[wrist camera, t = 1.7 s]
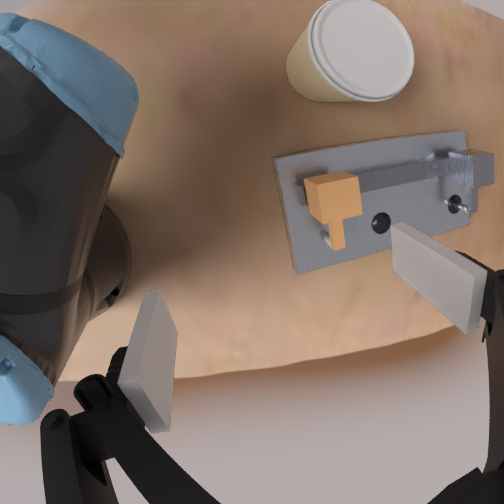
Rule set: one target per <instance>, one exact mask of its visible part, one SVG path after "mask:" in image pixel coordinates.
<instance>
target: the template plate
mask: <svg viewBox="0 0 504 504" xmlns="http://www.w3.org/2000/svg"><path fill="white" fill-rule="evenodd" d="M272 161H273V166H274V171H275V176H276V181H277V185H278V190H279V195H280V200H281V205H282V210H283V216H284V221H285V226H286V231H287V236H288V242H289V247H290V252H291V258H292V263H293V268H294V269H295V271H296V273H297V274H301V273H305V272H308V271H312V270H316V269H319V268H323V267H327V266H330V265H334V264H338V263H341V262H345V261H348V260H352V259H356V258H359V257H363V256H366V255H370V254H373V253H377V252H380V251H384V250H387V249H390V248H392V241H391V226H390V225H394V224H398V223H401V222H403V223H405V224H406V225H408V226H410V227H412V228H414V229H416V230H418V231H419V232H421V233H423V234H425V235H427V236H429V237H431V236H434V235H437V234H441V233H444V232H447V231H450V230H453V229H457V228H460V227H463V226H466V225H469V214H470V213H472V212H476V211H477V187H481V186H485V185H490V184H494V160H493V153H488V152H482V151H476V150H470V149H468V150H467V145H466V135H465V131H458V130H453V131H442V132H432V133H423V134H414V135H405V136H397V137H390V138H383V139H375V140H369V141H362V142H356V143H349V144H343V145H337V146H331V147H326V148H320V149H315V150H309V151H304V152H299V153H294V154H289V155H284V156H279V157H274V158H272ZM338 171H343V172H346V173H349V174H352V175H355V176H358V180H359V188H360V196H361V204H362V213H363V214H362V215H358V216H354V217H350V218H346V219H342V222H343V230H344V238H345V247H346V248H344V249H340V250H337V251H334V250H333V249H332V248H331V247H330V246H329V245H328V244H327V243H326V242H325V241H324V236H325V235H326V234H329V227H328V223H325V224H322V223H321V222H320V221H318V220H317V219H316V218H315V217H313V216H312V215H311V214H310V212H309V206H308V200H307V195H306V189H305V183H304V178H309V177H314V176H319V175H323V174H328V173H333V172H338Z"/></svg>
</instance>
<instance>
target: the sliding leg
mask: <svg viewBox="0 0 504 504" xmlns="http://www.w3.org/2000/svg"><path fill="white" fill-rule="evenodd" d="M304 183H305V189H306V195H307V200H308V206H309V212H310V214H311V215H312V216H313V217H315V218H316V219H317V220H318V221H320V222H321V223H322V224H325V223H328V227H329V234H326V235H325V236H324V241H325V242H326V243H327V244H328V245H329V246H330V247H331V248H332V249H333V250H334V251H337V250H340V249H344V248H346V247H345V238H344V230H343V222H342V219H346V218H350V217H354V216H358V215H362V214H363V213H362V204H361V196H360V188H359V180H358V176H355V175H352V174H349V173H346V172H343V171H338V172H333V173H328V174H323V175H319V176H314V177H309V178H304Z"/></svg>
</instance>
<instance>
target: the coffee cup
mask: <svg viewBox="0 0 504 504" xmlns="http://www.w3.org/2000/svg"><path fill="white" fill-rule="evenodd" d="M414 61H415V58H414V49H413V45H412V41H411V39H410V36H409V34H408V32H407V30H406V29H405V27H404V26H403V24H402V23H401V22H400V20H399V19H398V18H397V17H396V16H395V15H394V14H393V13H392V12H391V11H389V10H388V9H387V8H385V7H384V6H382V5H380V4H379V3H376V2H374V1H372V0H330V1H328V2H326V3H325V4H323V5H322V6H321V7H320V8H319V9H318V10H317V11H316V12H315V13H314V15H313V17H312V18H311V20H310V22H309V24H308V25H307V27H306V28H305V29H304V31H303V32H302V33H301V35H300V36H299V38H298V39H297V41H296V42H295V44H294V45H293V47H292V48H291V50H290V52H289V54H288V56H287V59H286V73H287V76H288V79H289V81H290V83H291V85H292V86H293V87H294V89H295V90H296V91H297V92H298V93H300V94H301V95H302V96H304V97H305V98H307V99H310V100H312V101H316V102H348V101H365V102H379V101H384V100H387V99H390V98H392V97H394V96H395V95H397V94H398V93H399V92H400V91H402V90H403V88H404V87H405V86H406V84H407V83H408V81H409V79H410V77H411V75H412V72H413V69H414Z"/></svg>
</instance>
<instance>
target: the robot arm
mask: <svg viewBox="0 0 504 504" xmlns="http://www.w3.org/2000/svg"><path fill="white" fill-rule="evenodd" d="M138 103H139V92H138V88H137V86H136V83H135V81H134V80H133V78H132V77H131V76H130V74H129V73H128V72H127V71H126V70H125V69H124V68H123V67H122V66H121V65H119V64H118V63H117V62H116V61H115V60H113V59H112V58H110V57H109V56H108V55H106V54H105V53H103V52H102V51H100V50H99V49H97V48H95V47H94V46H92V45H90V44H89V43H87V42H85V41H83V40H82V39H80V38H78V37H76V36H74V35H72V34H70V33H68V32H66V31H64V30H62V29H59V28H57V27H55V26H52V25H50V24H47V23H45V22H42V21H39V20H34V19H32V20H30V19H28V18H25V17H22V16H19V15H17V14H13V13H0V423H3V424H8V425H18V426H22V425H27V424H30V423H33V422H34V421H35V420H37V419H38V418H39V417H40V415H41V414H42V412H43V410H44V408H45V406H46V405H47V403H48V401H51V400H52V398H53V396H54V388H55V386H56V384H57V382H58V380H59V378H60V376H61V374H62V372H63V369H64V367H65V365H66V363H67V361H68V359H69V357H70V355H71V353H72V351H73V349H74V347H75V345H76V343H77V342H78V340H79V338H80V336H81V334H82V332H83V330H84V328H85V326H86V324H87V322H88V321H90V320H92V319H93V318H95V317H97V316H98V315H100V314H102V313H104V312H105V311H107V310H108V309H109V308H110V307H111V306H112V305H113V304H114V303H115V302H116V301H117V300H118V298H119V297H120V295H121V293H122V291H123V289H124V287H125V285H126V283H127V280H128V278H129V274H130V269H131V251H130V246H129V242H128V238H127V236H126V233H125V231H124V229H123V227H122V225H121V223H120V222H119V220H118V219H117V217H116V216H115V215H114V214H113V212H112V211H111V210H110V209H109V208H108V207H107V206H105V205H104V202H105V199H106V196H107V193H108V190H109V187H110V184H111V181H112V178H113V175H114V172H115V170H116V167H117V164H118V162H119V159H120V158H123V156H124V153H125V149H124V147H123V146H124V143H125V140H126V137H127V134H128V132H129V129H130V126H131V123H132V121H133V118H134V115H135V112H136V110H137V107H138ZM390 226H391V241H392V259H393V272H394V273H395V274H397V275H398V276H399V277H400V278H401V279H403V280H404V281H405V282H406V283H407V284H409V285H410V286H411V287H412V288H413V289H415V290H416V291H417V292H418V293H419V294H420V295H422V296H423V297H424V298H425V299H426V300H427V301H429V302H430V303H431V304H432V305H433V306H434V307H436V308H437V309H438V310H439V311H440V312H441V313H442V314H443V315H445V316H446V317H447V318H448V319H449V320H450V321H451V322H452V323H454V324H455V325H456V326H457V327H458V328H459V329H460V330H461V331H462V332H464V333H465V334H468V333H470V332H472V331H474V330H476V329H478V327H479V322H480V317H483V318H484V319H485V320H486V323H485V328H484V332H483V337H482V342H484V339H485V338H486V345H487V356H488V370H489V390H490V391H489V392H490V424H489V447H488V458H487V462H486V465H485V468H484V471H483V473H481V471H480V470H479V468H478V467H477V468H475V469H474V470H472V471H471V472H469V473H468V474H466V475H464V476H463V477H461V478H460V479H458V480H456V481H455V482H453V483H451V484H450V485H448V486H447V487H446V488H445V489H444V490H443V491H441V492H440V493H439V494H438V495H437V496H436V497H435V498H433V499H432V500H431V501H430V502H429V503H428V504H504V269H502V270H498V271H496V272H495V271H494V270H492V269H490V268H489V267H487V266H485V265H484V264H482V263H480V262H478V261H477V260H475V259H474V258H473V259H472V257H470V256H469V255H467V254H465V253H462V252H458V251H453V250H452V249H450V248H448V247H446V246H445V245H443V244H441V243H439V242H438V241H436V240H434V239H432V238H430V237H429V236H427V235H425V234H423V233H421V232H419V231H418V230H416V229H414V228H412V227H410V226H408V225H406V224H405V223H403V222H401V223H398V224H394V225H390ZM177 336H178V332H177V330H176V327H175V325H174V323H173V320H172V318H171V315H170V313H169V310H168V308H167V306H166V303H165V301H164V298H163V295H162V293H161V290H160V288H158V289H154V290H150V291H146V292H145V295H144V298H143V301H142V304H141V307H140V310H139V313H138V316H137V319H136V322H135V325H134V329H133V332H132V335H131V338H130V342H129V345H128V346H126V347H121V348H119V349H118V350H117V351H116V352H115V354H114V355H113V356H112V359H111V362H110V366H109V368H108V372H107V374H106V377H104V376H103V375H101V374H93V375H89V376H87V377H85V378H83V379H82V380H81V381H80V382H78V384H77V385H76V386H75V389H74V396H75V398H76V399H77V401H78V402H79V403H80V405H81V406H82V407H83V409H84V410H85V411H84V412H81V413H78V414H76V415H73V416H70V415H69V414H68V413H67V412H66V411H65V410H64V409H56V410H53V411H51V412H49V413H48V414H47V415H46V416H45V417H44V418H43V420H42V422H41V426H40V433H41V435H40V436H41V457H42V470H43V481H44V490H45V497H46V504H119V503H118V500H117V497H116V494H115V491H114V488H113V485H112V481H111V478H110V475H109V472H108V469H107V465H106V461H105V460H108V459H110V458H114V457H115V459H116V460H117V462H118V463H119V464H120V466H121V467H122V469H123V470H124V471H125V473H126V474H127V476H128V477H129V478H130V480H131V481H132V482H133V484H134V485H135V486H136V487H137V489H138V490H139V491H140V493H141V494H142V495H143V496H144V498H145V499H146V500H147V501H148V502H149V504H221V503H219V502H218V501H217V500H216V499H215V498H214V497H212V496H211V495H210V494H209V493H208V492H207V491H206V490H204V489H203V488H202V487H201V486H200V485H199V484H198V483H197V482H196V481H195V480H194V479H192V478H191V477H190V476H189V475H188V474H187V473H186V472H185V471H184V470H183V469H182V468H181V467H180V466H179V465H178V464H177V463H176V462H175V461H174V460H173V459H172V458H171V457H170V456H169V455H168V454H167V453H166V452H165V451H164V450H163V449H162V447H161V446H160V445H159V444H158V443H157V442H156V441H155V440H154V439H153V438H152V437H151V436H150V434H149V433H148V432H147V431H146V430H145V425H146V427H147V428H148V429H149V431H150V432H151V433H159V432H167V431H170V424H171V408H172V392H173V380H174V368H175V357H176V346H177Z"/></svg>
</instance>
